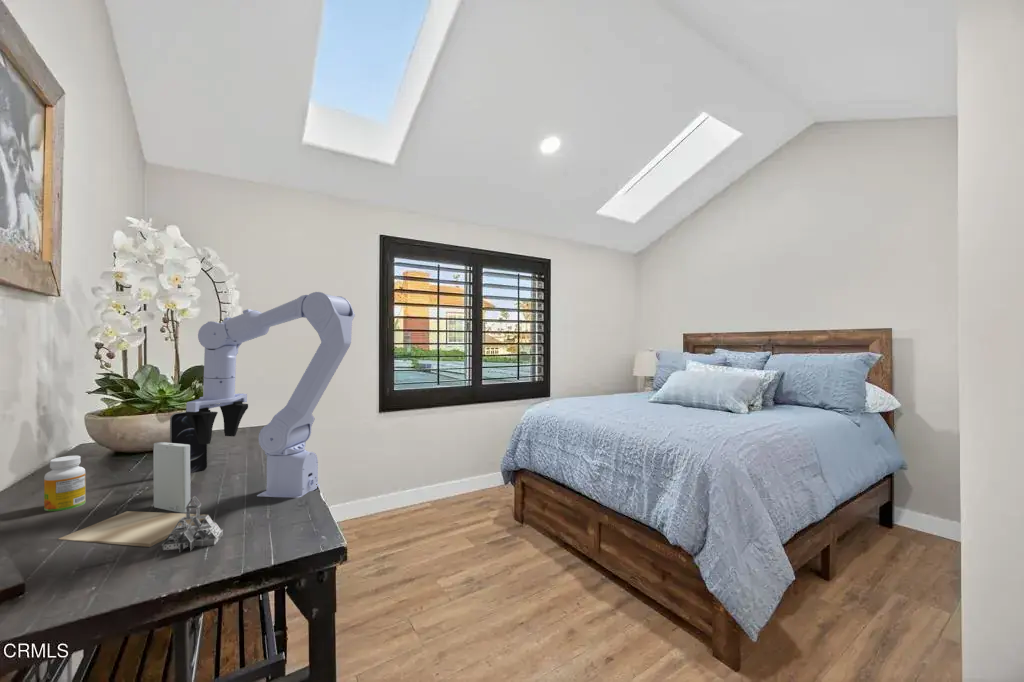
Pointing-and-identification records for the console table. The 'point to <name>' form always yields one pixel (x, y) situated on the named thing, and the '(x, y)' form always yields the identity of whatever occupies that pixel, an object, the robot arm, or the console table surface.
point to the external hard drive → (171, 476)
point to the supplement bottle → (64, 484)
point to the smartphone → (188, 441)
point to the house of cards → (193, 531)
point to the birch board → (131, 529)
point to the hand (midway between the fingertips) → (217, 439)
